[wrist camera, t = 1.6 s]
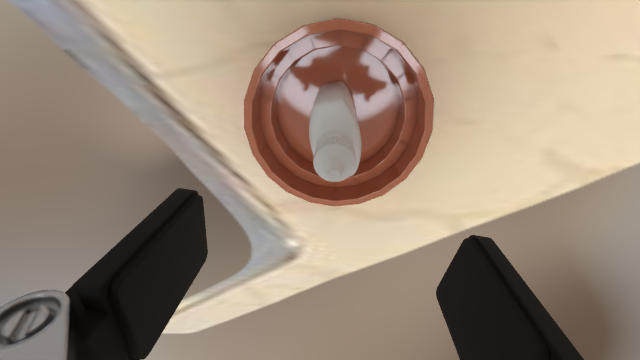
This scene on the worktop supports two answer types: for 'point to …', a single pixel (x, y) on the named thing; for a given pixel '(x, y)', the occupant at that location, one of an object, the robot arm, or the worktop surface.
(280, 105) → the bowl
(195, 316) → the worktop surface
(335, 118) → the eye dropper bottle
